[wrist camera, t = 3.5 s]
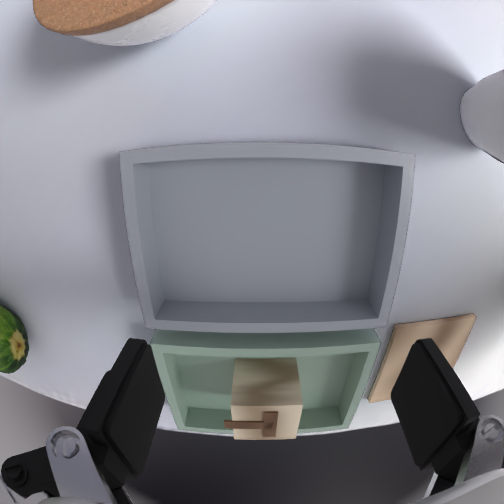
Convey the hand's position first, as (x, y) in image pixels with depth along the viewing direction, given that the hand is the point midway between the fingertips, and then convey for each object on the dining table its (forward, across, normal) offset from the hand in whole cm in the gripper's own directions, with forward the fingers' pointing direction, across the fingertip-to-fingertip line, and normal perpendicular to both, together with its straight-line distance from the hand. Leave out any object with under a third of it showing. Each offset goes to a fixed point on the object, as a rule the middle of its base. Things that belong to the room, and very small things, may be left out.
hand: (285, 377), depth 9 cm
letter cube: (+10, 0, +11) cm, 15 cm away
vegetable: (+11, +35, +8) cm, 37 cm away
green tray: (+11, 0, +11) cm, 16 cm away
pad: (+11, -16, +11) cm, 22 cm away
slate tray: (+11, 0, -2) cm, 11 cm away
